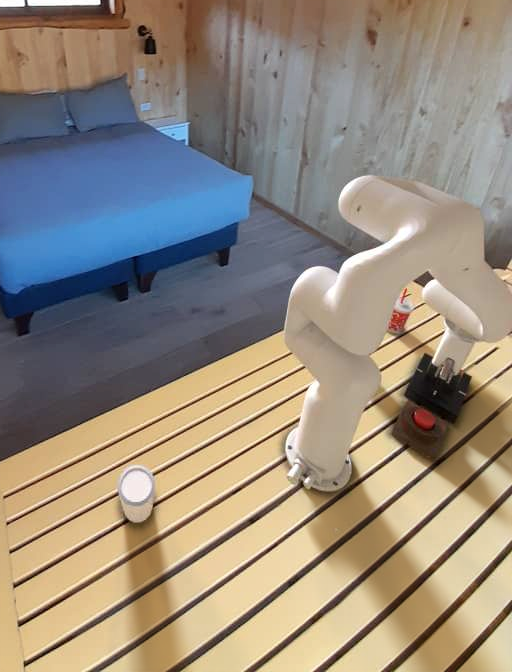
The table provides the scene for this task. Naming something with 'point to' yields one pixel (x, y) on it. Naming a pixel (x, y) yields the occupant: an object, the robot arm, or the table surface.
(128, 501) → the white lidded tub
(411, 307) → the beverage cup
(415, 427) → the button block
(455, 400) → the black lever switch base
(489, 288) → the robot arm
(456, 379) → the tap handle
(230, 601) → the table surface
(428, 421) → the button
